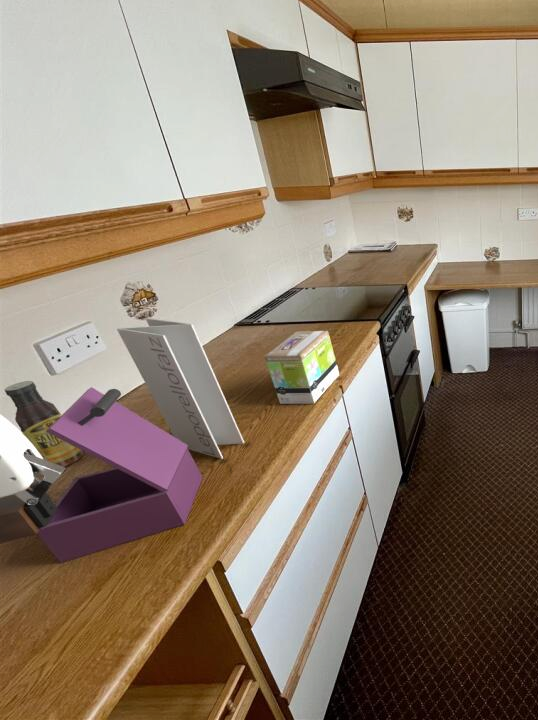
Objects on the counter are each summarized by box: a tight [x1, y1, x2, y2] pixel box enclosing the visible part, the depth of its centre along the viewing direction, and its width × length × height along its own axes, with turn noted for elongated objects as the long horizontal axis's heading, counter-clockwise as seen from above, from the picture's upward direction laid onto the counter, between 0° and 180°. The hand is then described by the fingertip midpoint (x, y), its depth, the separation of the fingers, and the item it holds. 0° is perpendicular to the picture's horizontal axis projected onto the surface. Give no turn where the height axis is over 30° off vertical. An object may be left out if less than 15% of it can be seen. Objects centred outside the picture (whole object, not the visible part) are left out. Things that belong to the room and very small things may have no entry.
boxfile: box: [36, 449, 203, 564], centre depth 74 cm, size 18×13×8 cm
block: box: [0, 489, 41, 545], centre depth 56 cm, size 4×4×4 cm
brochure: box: [116, 317, 245, 460], centre depth 87 cm, size 14×6×30 cm, turn 70°
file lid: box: [46, 386, 188, 492], centre depth 70 cm, size 18×13×5 cm
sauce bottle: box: [4, 380, 83, 468], centre depth 87 cm, size 6×6×20 cm
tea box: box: [264, 330, 340, 405], centre depth 110 cm, size 15×10×15 cm
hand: (24, 525), depth 57 cm, fingers closed on block, 4 cm apart
